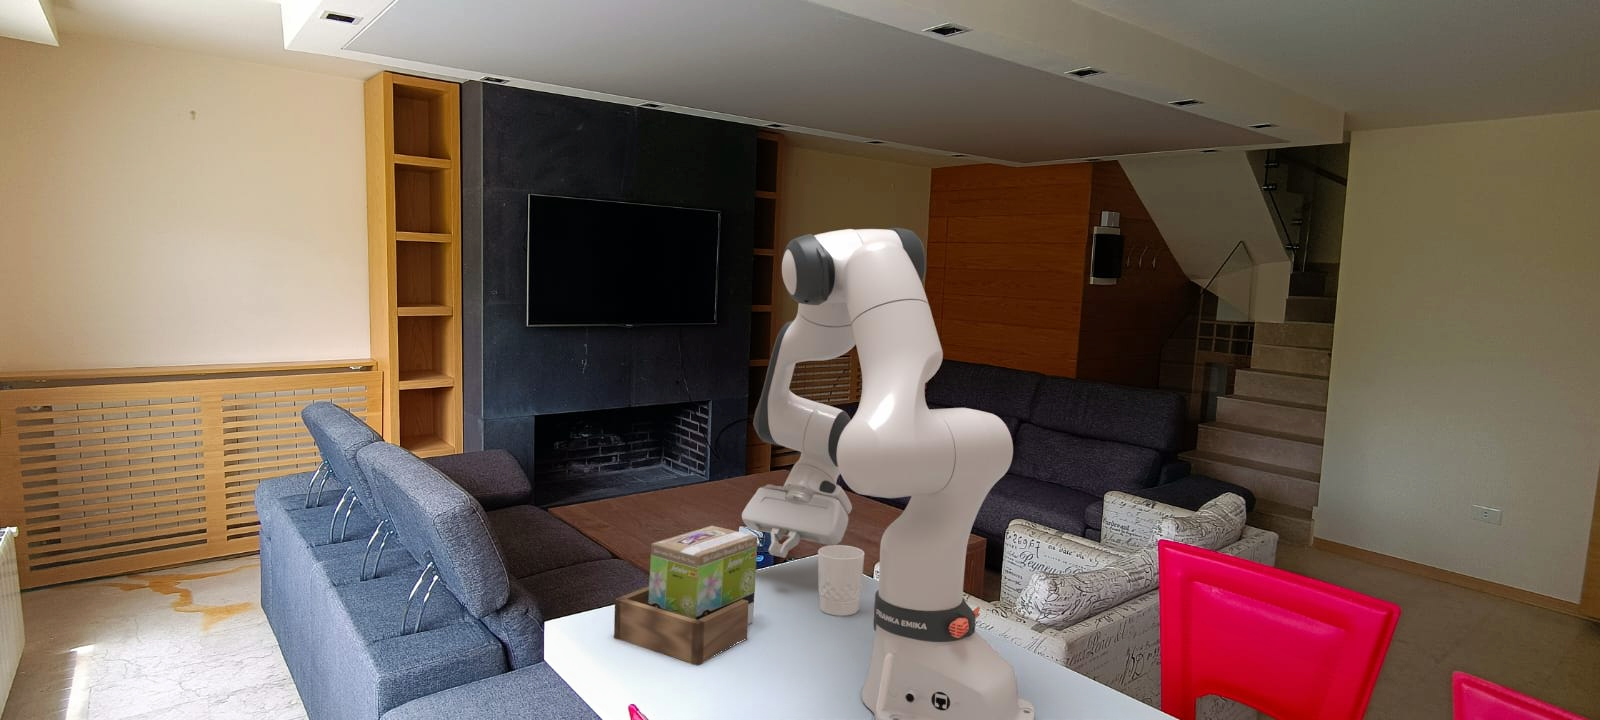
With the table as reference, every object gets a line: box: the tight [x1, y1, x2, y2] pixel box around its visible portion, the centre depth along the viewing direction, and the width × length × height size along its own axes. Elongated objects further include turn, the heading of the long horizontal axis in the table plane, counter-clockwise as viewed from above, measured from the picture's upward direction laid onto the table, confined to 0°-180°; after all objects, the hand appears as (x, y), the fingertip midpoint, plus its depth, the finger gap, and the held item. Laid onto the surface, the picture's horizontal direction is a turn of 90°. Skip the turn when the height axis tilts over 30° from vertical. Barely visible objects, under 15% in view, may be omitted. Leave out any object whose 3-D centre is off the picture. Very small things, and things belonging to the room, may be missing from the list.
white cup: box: [817, 544, 865, 617], centre depth 148 cm, size 8×8×10 cm
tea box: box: [648, 525, 758, 625], centre depth 137 cm, size 15×10×15 cm
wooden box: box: [613, 585, 749, 666], centre depth 134 cm, size 16×12×6 cm
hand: (776, 554), depth 154 cm, fingers closed
